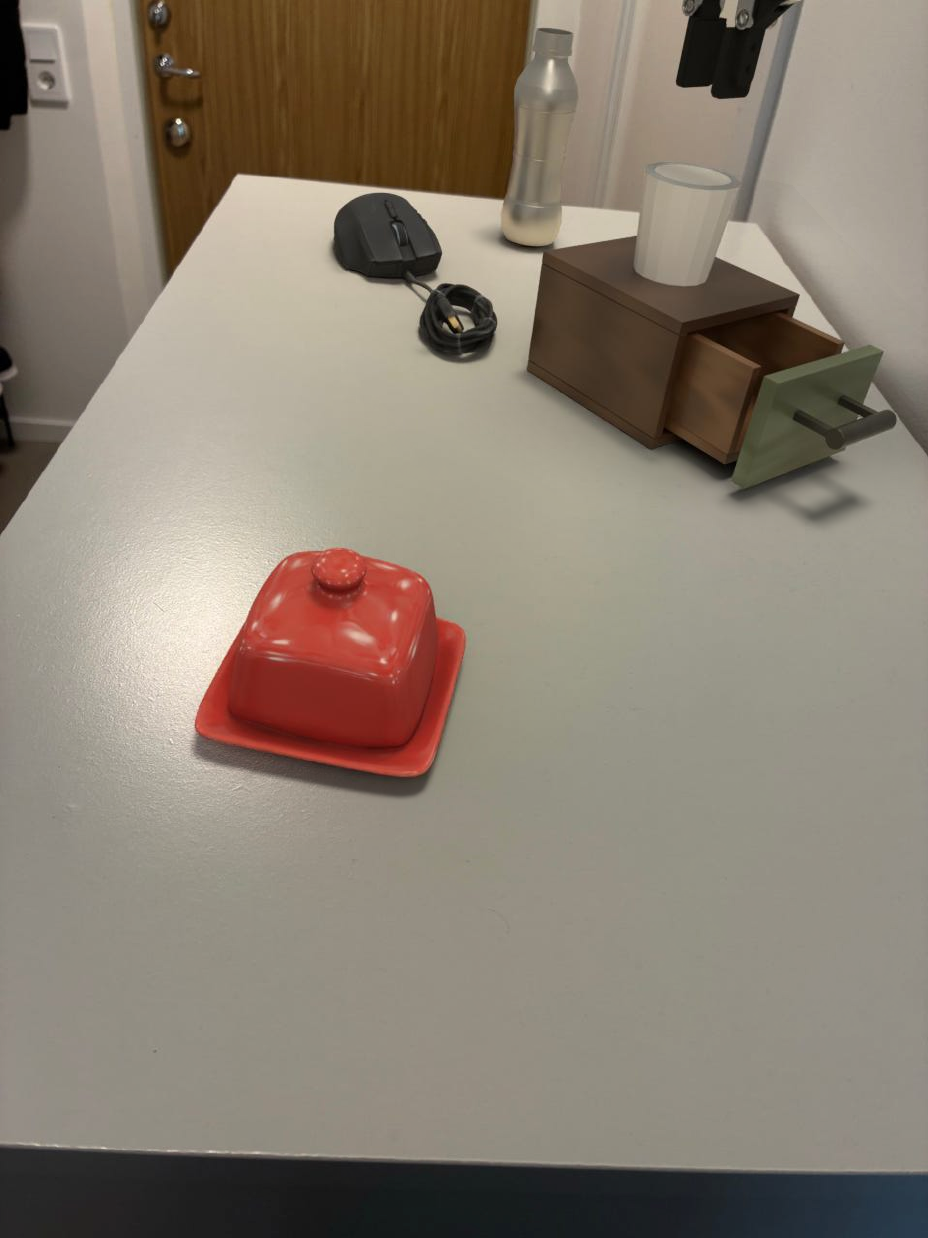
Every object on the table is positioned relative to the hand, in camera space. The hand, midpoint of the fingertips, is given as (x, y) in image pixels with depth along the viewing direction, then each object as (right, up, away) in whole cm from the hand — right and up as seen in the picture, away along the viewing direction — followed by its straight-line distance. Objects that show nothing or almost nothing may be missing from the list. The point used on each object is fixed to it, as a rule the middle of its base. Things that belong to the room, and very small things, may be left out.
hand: (711, 88), depth 64 cm
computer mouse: (-22, -4, +27) cm, 35 cm away
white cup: (-1, -10, +8) cm, 13 cm away
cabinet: (-2, -17, +14) cm, 22 cm away
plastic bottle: (-10, +5, +40) cm, 42 cm away
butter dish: (-23, -40, -16) cm, 49 cm away
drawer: (+5, -22, +7) cm, 24 cm away
